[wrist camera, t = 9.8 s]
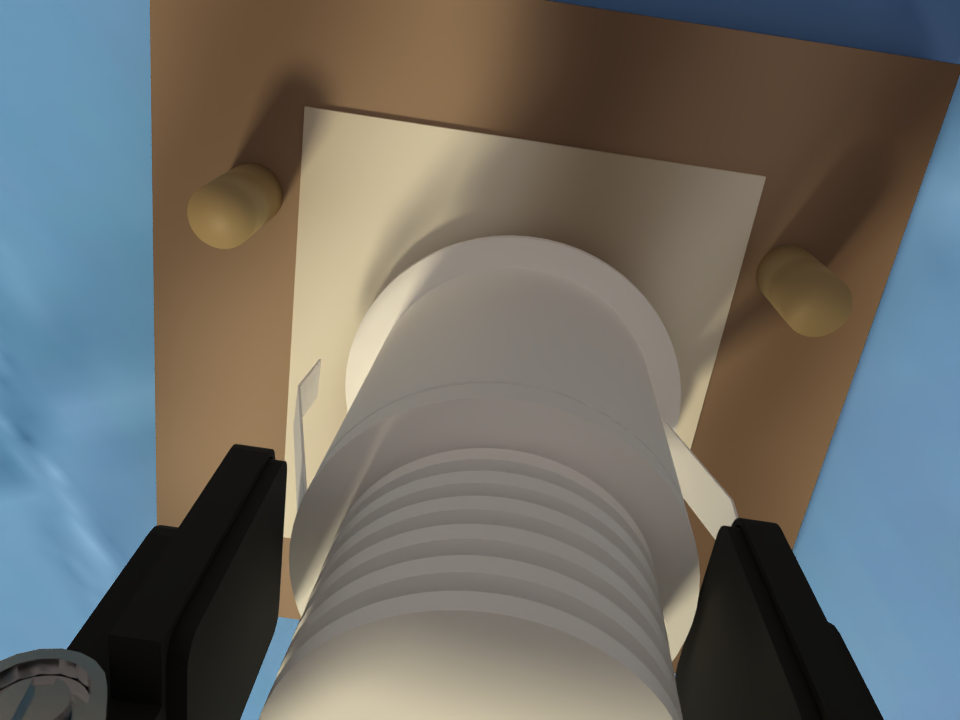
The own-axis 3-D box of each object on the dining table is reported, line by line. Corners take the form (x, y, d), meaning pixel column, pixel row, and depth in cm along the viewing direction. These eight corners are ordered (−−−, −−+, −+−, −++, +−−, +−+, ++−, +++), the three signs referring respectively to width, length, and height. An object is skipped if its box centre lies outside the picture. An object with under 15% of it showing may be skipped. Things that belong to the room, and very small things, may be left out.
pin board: (933, 60, 16) (1023, 73, 13) (734, 649, 22) (766, 747, 19) (174, -58, 16) (97, -71, 13) (176, 569, 22) (123, 656, 19)
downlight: (744, 275, 17) (986, 600, 7) (651, 561, 19) (742, 1062, 10) (349, 195, 17) (96, 416, 7) (312, 492, 19) (92, 927, 10)
